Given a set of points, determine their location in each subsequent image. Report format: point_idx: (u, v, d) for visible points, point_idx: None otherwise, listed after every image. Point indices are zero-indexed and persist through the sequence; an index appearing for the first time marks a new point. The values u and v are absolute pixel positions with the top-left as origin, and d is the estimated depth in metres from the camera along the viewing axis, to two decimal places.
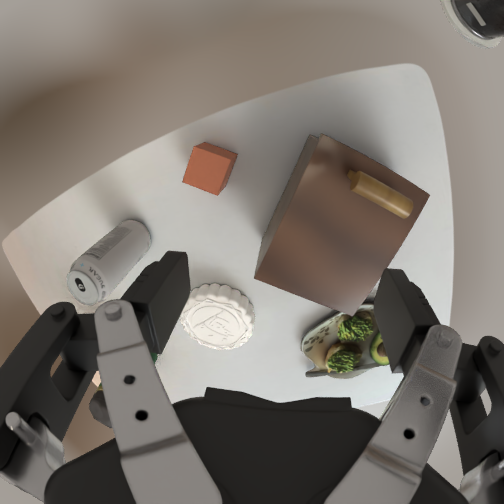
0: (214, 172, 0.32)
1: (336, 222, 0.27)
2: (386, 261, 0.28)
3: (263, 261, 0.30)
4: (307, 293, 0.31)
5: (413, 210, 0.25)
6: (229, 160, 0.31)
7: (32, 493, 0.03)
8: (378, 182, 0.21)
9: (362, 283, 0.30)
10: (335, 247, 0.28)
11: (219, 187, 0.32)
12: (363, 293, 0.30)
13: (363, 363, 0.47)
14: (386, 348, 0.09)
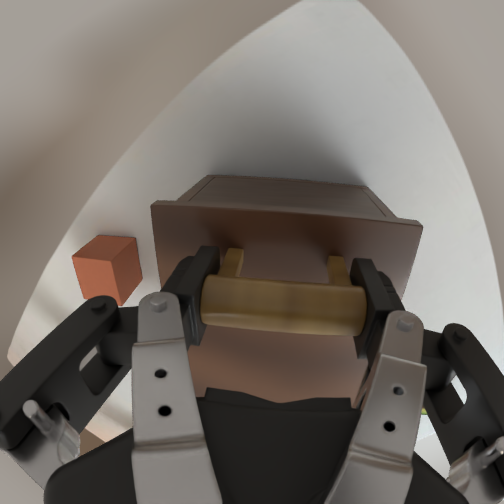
0: (104, 281, 0.22)
1: (253, 334, 0.15)
2: None
3: None
4: None
5: (395, 269, 0.12)
6: (109, 262, 0.21)
7: (35, 479, 0.03)
8: (253, 291, 0.09)
9: (341, 391, 0.17)
10: (271, 364, 0.16)
11: (118, 296, 0.23)
12: None
13: None
14: None
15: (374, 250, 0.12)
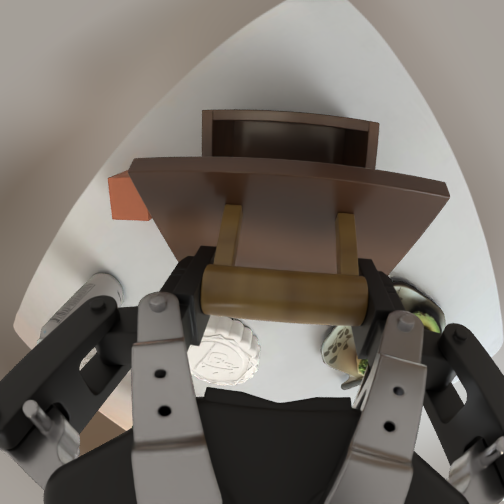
0: (135, 197, 0.27)
1: (259, 262, 0.16)
2: None
3: None
4: None
5: (410, 226, 0.11)
6: None
7: (35, 479, 0.03)
8: (253, 297, 0.09)
9: None
10: None
11: (146, 211, 0.27)
12: None
13: None
14: (354, 335, 0.10)
15: (390, 211, 0.10)
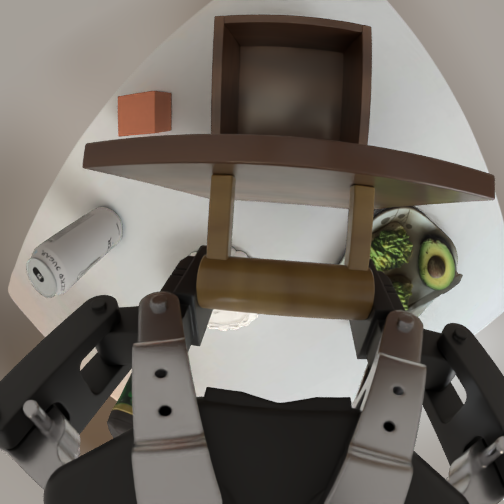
0: (144, 111, 0.25)
1: (262, 191, 0.14)
2: (389, 206, 0.15)
3: (203, 196, 0.21)
4: (283, 202, 0.22)
5: (439, 198, 0.08)
6: (153, 92, 0.24)
7: (35, 479, 0.03)
8: (251, 304, 0.09)
9: None
10: (285, 196, 0.16)
11: (153, 123, 0.26)
12: None
13: (419, 297, 0.35)
14: (353, 335, 0.10)
15: (419, 191, 0.08)
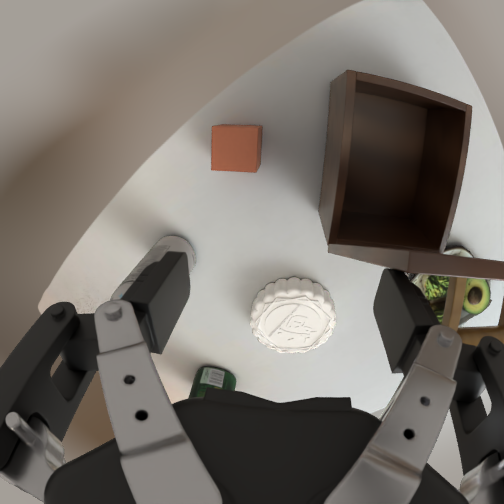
0: (244, 147, 0.27)
1: None
2: None
3: (334, 253, 0.23)
4: None
5: None
6: (256, 128, 0.26)
7: (32, 493, 0.03)
8: None
9: None
10: None
11: (255, 162, 0.27)
12: None
13: None
14: (386, 348, 0.09)
15: None
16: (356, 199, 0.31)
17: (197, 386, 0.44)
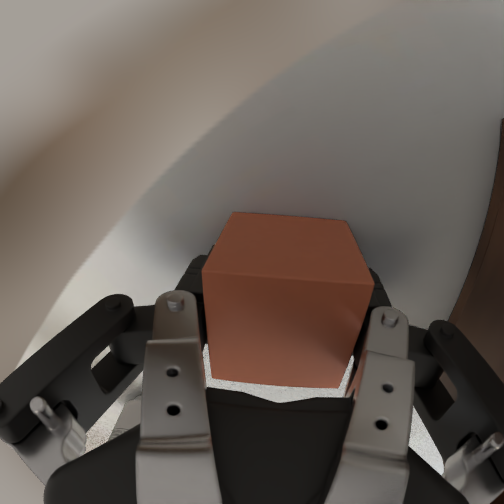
0: (317, 340, 0.08)
1: None
2: None
3: None
4: None
5: None
6: (369, 287, 0.07)
7: (37, 475, 0.03)
8: None
9: None
10: None
11: (341, 370, 0.09)
12: None
13: None
14: None
15: None
16: None
17: None
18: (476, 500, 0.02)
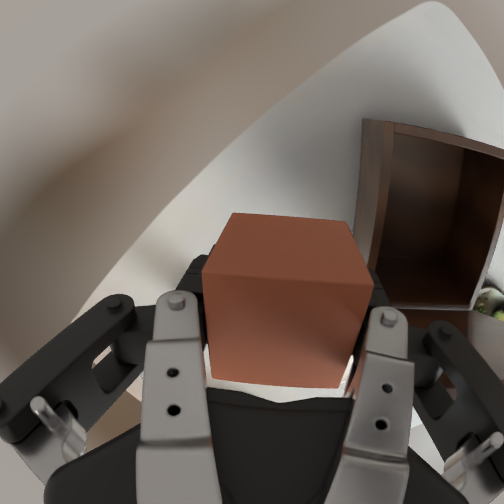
0: (316, 340, 0.08)
1: None
2: None
3: None
4: None
5: None
6: (368, 288, 0.07)
7: (37, 475, 0.03)
8: None
9: None
10: None
11: (341, 371, 0.09)
12: None
13: None
14: None
15: None
16: (388, 245, 0.29)
17: None
18: (476, 500, 0.02)
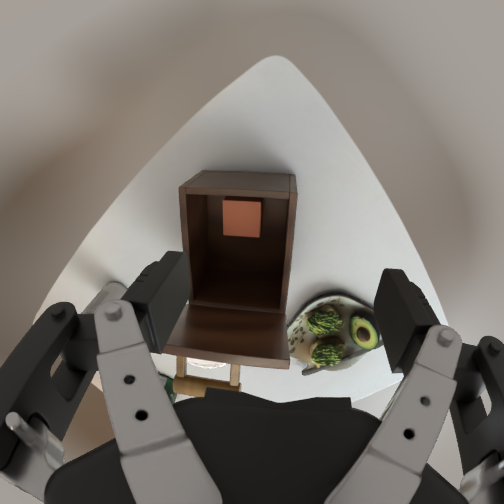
0: (250, 218, 0.35)
1: None
2: None
3: None
4: None
5: None
6: (259, 203, 0.34)
7: (32, 493, 0.03)
8: (192, 394, 0.21)
9: None
10: None
11: (259, 229, 0.35)
12: None
13: (353, 351, 0.48)
14: (386, 348, 0.09)
15: None
16: (231, 261, 0.43)
17: None
18: None
